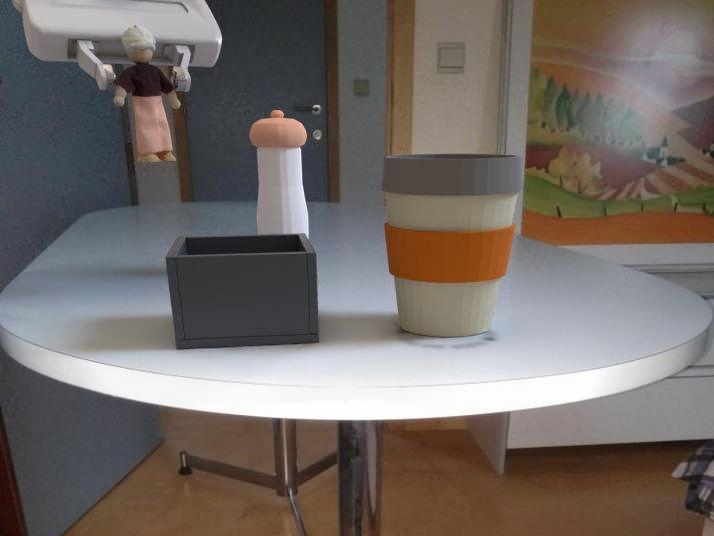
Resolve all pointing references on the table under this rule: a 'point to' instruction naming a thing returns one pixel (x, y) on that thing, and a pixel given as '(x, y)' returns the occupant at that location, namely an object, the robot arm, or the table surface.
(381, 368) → the table surface
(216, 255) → the dark grey storage bin
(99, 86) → the robot arm
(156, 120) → the grandmother figurine
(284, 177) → the pepper shaker
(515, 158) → the reusable coffee cup
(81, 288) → the table surface
